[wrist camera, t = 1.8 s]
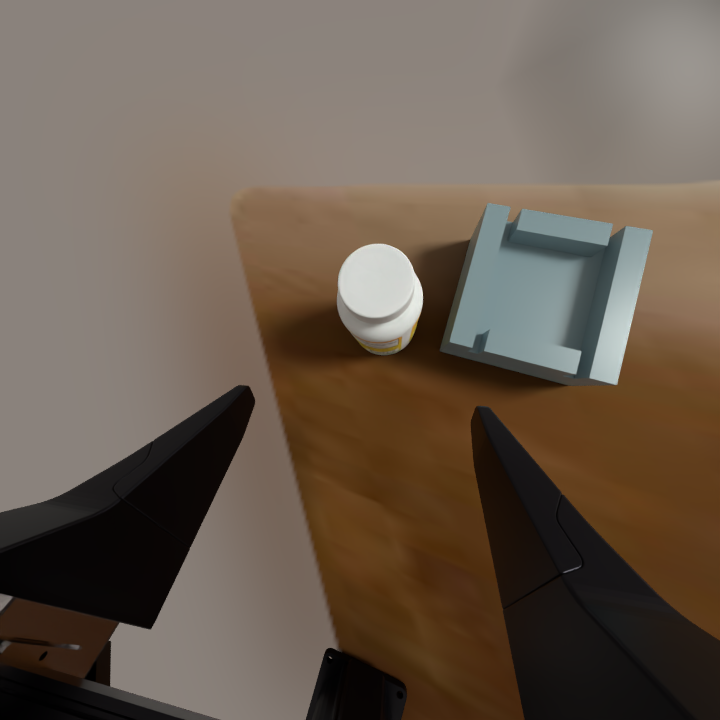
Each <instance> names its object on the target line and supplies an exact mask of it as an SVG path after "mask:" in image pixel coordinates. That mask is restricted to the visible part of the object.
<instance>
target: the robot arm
mask: <svg viewBox="0 0 720 720" xmlns="http://www.w3.org/2000/svg"><path fill="white" fill-rule="evenodd" d="M254 405H255V398H254V396H253V393H252V391H251V389H250V387H249V386H244V385H238V386H236V387H235V388H233V389H232V390H230V391H229V392H227V393H226V394H224V395H222V396H221V397H219V398H218V399H216V400H215V401H213V402H212V403H210V404H209V405H207V406H206V407H204V408H203V409H201V410H199V411H198V412H196V413H195V414H193V415H192V416H191V417H189V418H187V419H186V420H184V421H183V422H181V423H180V424H178V425H176V426H175V427H174V428H172V429H170V430H169V431H167V432H166V433H164V434H163V435H161V436H159V437H158V438H157V439H155V440H154V441H152V442H150V443H149V444H147V445H146V446H144V447H142V448H141V449H139V450H138V451H136V452H135V453H133V454H132V455H130V456H128V457H127V458H125V459H123V460H122V461H120V462H118V463H116V464H115V465H113V466H111V467H110V468H108V469H106V470H105V471H103V472H101V473H99V474H97V475H96V476H94V477H92V478H91V479H89V480H87V481H85V482H84V483H82V484H80V485H78V486H77V487H75V488H73V489H71V490H70V491H68V492H66V493H64V494H62V495H60V496H58V497H55V498H53V499H50V500H47V501H44V502H41V503H37V504H34V505H30V506H25V507H21V508H17V509H13V510H9V511H5V512H1V513H0V720H219V719H215V718H212V717H209V716H205V715H202V714H199V713H195V712H192V711H189V710H186V709H182V708H179V707H176V706H172V705H169V704H166V703H162V702H159V701H156V700H153V699H149V698H146V697H143V696H139V695H136V694H133V693H129V692H126V691H122V690H119V689H116V688H113V687H110V658H111V657H110V656H111V654H110V653H111V641H108V640H109V639H110V637H111V636H112V634H113V632H114V631H115V629H116V627H117V626H118V624H119V623H120V622H121V623H125V624H129V625H133V626H137V627H141V628H146V629H151V628H152V626H153V624H154V623H155V621H156V619H157V617H158V614H159V612H160V610H161V608H162V606H163V604H164V602H165V600H166V598H167V596H168V593H169V591H170V589H171V587H172V585H173V583H174V581H175V579H176V577H177V575H178V573H179V571H180V568H181V566H182V564H183V562H184V560H185V558H186V556H187V554H188V552H189V550H190V547H191V545H192V543H193V541H194V539H195V537H196V535H197V533H198V530H199V528H200V526H201V524H202V522H203V520H204V518H205V516H206V514H207V512H208V510H209V507H210V505H211V503H212V501H213V499H214V497H215V495H216V493H217V490H218V488H219V486H220V484H221V482H222V480H223V478H224V476H225V474H226V472H227V470H228V467H229V466H230V463H231V461H232V459H233V457H234V455H235V453H236V451H237V449H238V447H239V445H240V443H241V440H242V438H243V436H244V433H245V430H246V427H247V425H248V422H249V419H250V416H251V413H252V411H253V407H254ZM471 435H472V448H473V460H474V468H475V473H476V478H477V483H478V488H479V493H480V498H481V503H482V508H483V513H484V518H485V523H486V528H487V533H488V538H489V543H490V548H491V553H492V558H493V563H494V568H495V573H496V578H497V583H498V588H499V593H500V598H501V603H502V608H503V609H504V610H503V614H504V619H505V624H506V629H507V634H508V639H509V644H510V649H511V654H512V659H513V664H514V669H515V674H516V679H517V684H518V689H519V694H520V699H521V704H522V709H523V713H524V718H525V720H720V641H719V640H718V639H716V638H715V637H713V636H712V635H710V634H709V633H707V632H705V631H704V630H702V629H701V628H699V627H698V626H696V625H695V624H693V623H692V622H691V621H689V620H688V619H687V618H685V617H684V616H682V615H681V614H680V613H679V612H678V611H676V610H675V609H674V608H673V607H671V606H670V605H669V604H668V603H667V602H666V601H665V600H664V599H662V598H661V597H660V596H659V595H658V594H657V593H656V592H655V591H654V590H653V589H652V588H651V587H650V586H649V585H648V584H647V583H646V582H645V581H644V580H643V579H642V578H641V577H640V576H639V575H638V574H637V573H636V572H635V571H634V570H633V569H632V567H631V566H630V565H629V564H628V563H627V562H626V561H625V560H624V559H623V558H622V557H621V556H620V555H619V554H618V553H617V552H616V551H615V550H614V549H613V548H612V547H611V546H610V545H609V544H608V543H607V542H606V541H605V540H604V539H603V538H602V537H601V536H600V535H599V534H598V533H597V532H596V531H595V529H594V528H593V527H592V526H591V525H590V524H589V523H588V522H587V521H586V520H585V519H584V518H583V516H582V515H581V514H580V513H579V512H578V511H577V510H576V509H575V507H574V506H573V505H572V504H571V503H570V502H569V500H568V499H567V498H566V497H565V496H564V495H563V494H562V493H561V491H560V490H559V489H558V488H557V486H556V485H555V484H554V483H553V482H552V481H551V479H550V478H549V477H548V476H547V475H546V474H545V472H544V471H543V470H542V469H541V468H540V466H539V465H538V464H537V463H536V462H535V461H534V459H533V458H532V457H531V456H530V455H529V454H528V452H527V451H526V450H525V449H524V448H523V447H522V445H521V444H520V443H519V442H518V441H517V439H516V438H515V437H514V436H513V435H512V434H511V432H510V431H509V430H508V429H507V428H506V427H505V425H504V424H503V423H502V422H501V421H500V420H499V418H498V417H497V416H496V415H495V414H494V412H493V411H492V410H491V409H490V408H489V407H485V406H477V407H476V408H475V411H474V413H473V416H472V419H471ZM561 494H562V495H561ZM329 656H330V657H332V659H330V658H329ZM398 691H401V693H399V692H398ZM406 698H407V689H406V686H405V684H404V683H402V682H401V681H399V680H397V679H395V678H393V677H390V676H388V675H386V674H384V673H382V672H380V671H378V670H376V669H374V668H372V667H370V666H368V665H366V664H364V663H362V662H360V661H358V660H356V659H353V658H351V657H349V656H347V655H345V654H343V653H341V652H339V651H337V650H335V649H333V648H328V649H327V650H326V651H325V654H324V657H323V661H322V664H321V668H320V671H319V675H318V679H317V682H316V686H315V689H314V693H313V696H312V700H311V703H310V707H309V710H308V714H307V717H306V720H401V717H402V714H403V710H404V706H405V702H406Z"/></svg>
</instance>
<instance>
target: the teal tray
mask: <svg viewBox="0 0 720 720" xmlns="http://www.w3.org/2000/svg"><path fill="white" fill-rule="evenodd" d="M509 211H510V207H508V206H502V205H496V204H490V203H488V204H487V206H486V208H485V210H484V212H483V214H482V216H481V218H480V220H479V222H478V225H477V227H476V229H475V231H474V233H473V235H472V237H471V239H470V243H469V246H468V250H467V253H466V257H465V261H464V264H463V268H462V271H461V275H460V279H459V282H458V286H457V289H456V293H455V297H454V300H453V304H452V307H451V311H450V315H449V318H448V322H447V325H446V329H445V333H444V336H443V340H442V343H441V347H440V352H444V353H448V354H452V355H455V356H459V357H463V358H467V359H470V360H474V361H478V362H482V363H486V364H489V365H493V366H497V367H501V368H504V369H508V370H512V371H516V372H520V373H523V374H527V375H531V376H535V377H538V378H542V379H546V380H550V381H553V382H557V383H561V384H565V385H569V386H586V385H617V382H618V377H619V373H620V369H621V365H622V360H623V356H624V352H625V347H626V343H627V339H628V335H629V330H630V326H631V322H632V318H633V313H634V309H635V305H636V301H637V296H638V292H639V288H640V284H641V279H642V275H643V271H644V267H645V262H646V258H647V254H648V249H649V245H650V241H651V237H652V232H653V230H647V229H641V228H635V227H629V226H625V227H624V228H623V229H621V230H620V231H618V232H617V233H616V234H614V235H613V236H611V237H610V234H611V230H612V226H613V224H611V223H605V222H599V221H593V220H587V219H581V218H575V217H569V216H562V215H556V214H550V213H544V212H538V211H532V210H526V209H522V210H521V211H520V213H519V214H518V216H517V217H516V219H515V220H514V221H513V222H507V218H508V214H509Z"/></svg>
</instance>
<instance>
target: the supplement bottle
mask: <svg viewBox="0 0 720 720" xmlns="http://www.w3.org/2000/svg"><path fill="white" fill-rule="evenodd" d="M422 305H423V292H422V287H421V284H420V281H419V279H418V277H417V276H416V274H415V273H414V270H413V267H412V265H411V263H410V261H409V259H408V258H407V257H406V256H405V255H404V254H403V253H402V252H401V251H400V250H398V249H396V248H394V247H392V246H389V245H385V244H371V245H367V246H364V247H361V248H359V249H357V250H356V251H355V252H353V253H352V254H351V255H350V256H349V257H348V258H347V259H346V260H345V262H344V263H343V265H342V267H341V269H340V272H339V277H338V294H337V307H338V312H339V315H340V318H341V320H342V322H343V323H344V325H345V326H346V328H347V329H348V330H349V331H350V333H351V334H352V335H353V336H354V337H355V339H356V340H357V341H358V342H359V344H360V345H361V346H362V347H363V348H365V349H366V350H367V351H369V352H371V353H374V354H378V355H390V354H394V353H397V352H399V351H400V350H402V349H403V348H405V347H406V346H407V345H408V343H409V342H410V341H411V339H412V337H413V335H414V333H415V329H416V326H417V322H418V319H419V316H420V314H421V310H422Z"/></svg>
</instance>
